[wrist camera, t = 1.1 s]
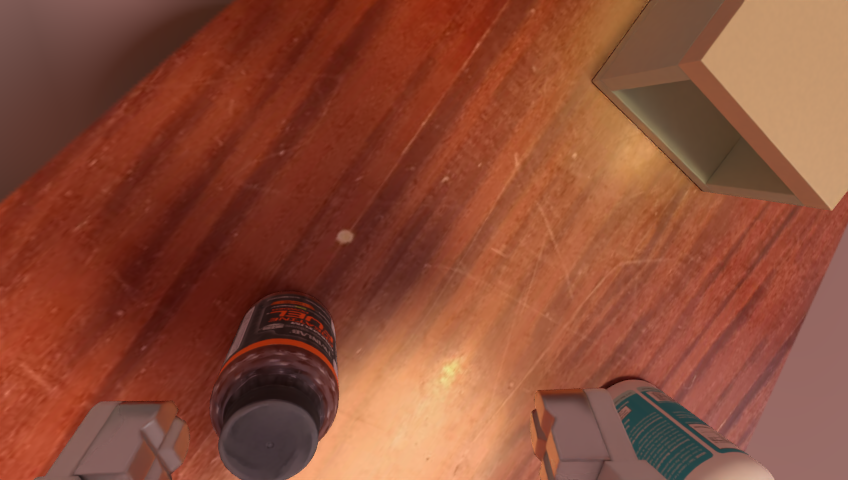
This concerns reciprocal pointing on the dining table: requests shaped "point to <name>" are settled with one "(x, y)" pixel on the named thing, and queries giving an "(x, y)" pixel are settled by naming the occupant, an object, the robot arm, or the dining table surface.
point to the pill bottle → (678, 438)
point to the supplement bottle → (276, 388)
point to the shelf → (683, 104)
